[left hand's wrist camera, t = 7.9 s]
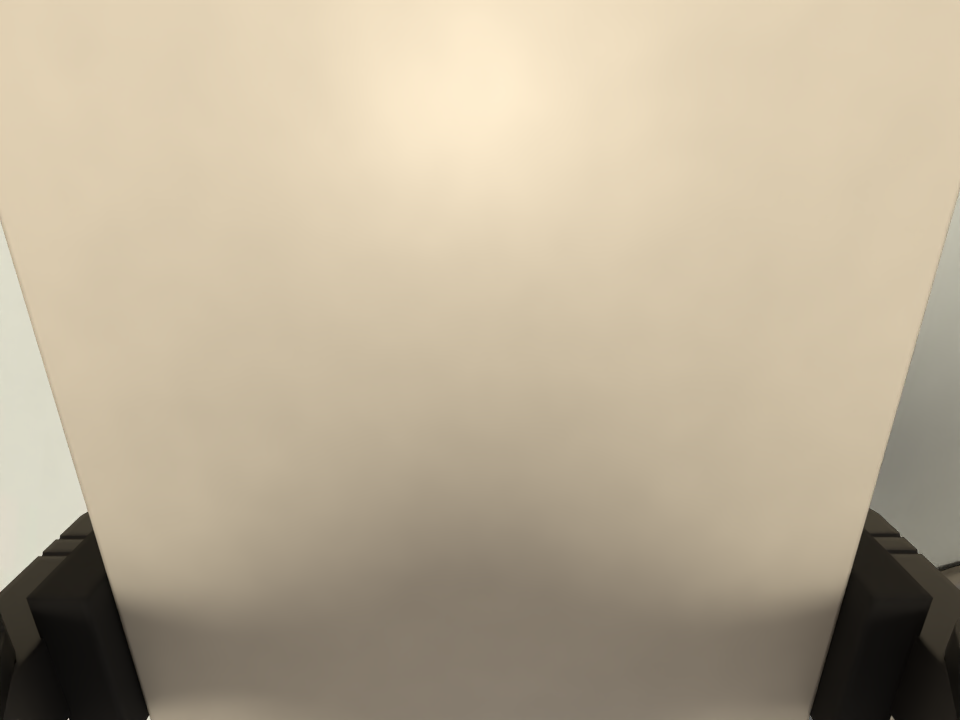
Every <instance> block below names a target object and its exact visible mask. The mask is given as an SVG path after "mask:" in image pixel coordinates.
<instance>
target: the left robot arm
mask: <svg viewBox="0 0 960 720" xmlns="http://www.w3.org/2000/svg"><path fill="white" fill-rule="evenodd" d="M810 715H811V717H812V719H813V720H960V566H956V567H953V568H949V569H946V570H944V571H941V572H940V571H939V570H938V569H937V568H936V567H935V566H934V565H933V564H932V563H931V562H930V561H929V560H927V559H926V558H925V557H924V556H923V555H922V554H918V553H917V549H916V548H915V547H914V546H913V545H912V544H910V543H909V542H908V541H907V540H906V539H905V538H904V537H900V533H899V532H898V531H897V530H896V529H895V528H893V527H892V526H891V525H890V524H889V523H888V522H887V521H886V520H885V519H884V518H883V517H882V516H881V515H880V514H878V513H877V512H875V511H873V510H871V509H870V508H869V510H868V513H867V517H866V520H865V524H864V527H863V531H862V534H861V538H860V541H859V545H858V548H857V552H856V555H855V559H854V562H853V566H852V569H851V573H850V576H849V580H848V583H847V587H846V590H845V594H844V597H843V601H842V604H841V608H840V611H839V615H838V618H837V622H836V625H835V629H834V632H833V636H832V639H831V643H830V646H829V650H828V653H827V657H826V660H825V664H824V667H823V671H822V674H821V678H820V681H819V685H818V688H817V692H816V695H815V699H814V702H813V706H812V709H811V713H810ZM148 716H149V712H148V709H147V706H146V702H145V699H144V696H143V692H142V689H141V686H140V682H139V679H138V676H137V672H136V669H135V666H134V662H133V659H132V656H131V652H130V649H129V646H128V642H127V639H126V636H125V633H124V629H123V626H122V623H121V619H120V616H119V613H118V609H117V606H116V603H115V599H114V596H113V593H112V589H111V586H110V583H109V579H108V576H107V573H106V569H105V566H104V563H103V559H102V556H101V553H100V549H99V546H98V543H97V539H96V536H95V533H94V530H93V526H92V523H91V520H90V516H89V513H88V512H87V513H85V514H83V515H81V516H80V517H79V518H78V519H77V520H76V521H75V522H74V523H73V524H72V525H71V526H70V527H69V528H68V529H66V530H65V531H64V532H63V533H62V534H61V535H60V539H56V540H55V541H54V542H53V543H52V544H51V545H50V546H49V547H48V548H46V549H45V550H44V551H43V555H42V556H38V557H37V558H36V559H35V560H34V561H33V562H32V563H31V564H30V565H29V566H27V567H26V568H25V569H24V570H23V571H22V572H21V573H20V574H19V575H18V576H17V577H16V578H15V579H14V580H13V581H12V582H11V583H10V584H8V585H7V586H6V587H5V588H4V589H3V590H2V591H1V592H0V720H67V719H68V718H69V720H147V718H148Z"/></svg>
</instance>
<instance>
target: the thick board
mask: <svg viewBox="0 0 960 720" xmlns="http://www.w3.org/2000/svg"><path fill="white" fill-rule="evenodd" d="M959 191H960V0H0V221H1V224H2V227H3V231H4V234H5V237H6V241H7V244H8V247H9V250H10V254H11V257H12V260H13V264H14V267H15V270H16V274H17V277H18V280H19V284H20V287H21V290H22V294H23V297H24V300H25V304H26V307H27V310H28V314H29V317H30V320H31V324H32V327H33V330H34V334H35V337H36V340H37V344H38V347H39V350H40V353H41V357H42V360H43V363H44V367H45V370H46V373H47V377H48V380H49V383H50V387H51V390H52V393H53V397H54V400H55V403H56V407H57V410H58V413H59V417H60V420H61V423H62V427H63V430H64V433H65V437H66V440H67V443H68V446H69V450H70V453H71V456H72V460H73V463H74V466H75V470H76V473H77V476H78V480H79V483H80V486H81V490H82V493H83V496H84V500H85V503H86V506H87V510H88V513H89V516H90V520H91V523H92V526H93V530H94V533H95V536H96V539H97V543H98V546H99V549H100V553H101V556H102V559H103V563H104V566H105V569H106V573H107V576H108V579H109V583H110V586H111V589H112V593H113V596H114V599H115V603H116V606H117V609H118V613H119V616H120V619H121V623H122V626H123V629H124V633H125V636H126V639H127V642H128V646H129V649H130V652H131V656H132V659H133V662H134V666H135V669H136V672H137V676H138V679H139V682H140V686H141V689H142V692H143V696H144V699H145V702H146V706H147V709H148V712H149V716H150V719H151V720H809V716H810V713H811V709H812V706H813V702H814V699H815V695H816V692H817V688H818V685H819V681H820V678H821V674H822V671H823V667H824V664H825V660H826V657H827V653H828V650H829V646H830V643H831V639H832V636H833V632H834V629H835V625H836V622H837V618H838V615H839V611H840V608H841V604H842V601H843V597H844V594H845V590H846V587H847V583H848V580H849V576H850V573H851V569H852V566H853V562H854V559H855V555H856V552H857V548H858V545H859V541H860V538H861V534H862V531H863V527H864V524H865V520H866V517H867V513H868V510H869V506H870V503H871V499H872V496H873V492H874V489H875V485H876V482H877V478H878V475H879V471H880V468H881V464H882V461H883V457H884V453H885V450H886V446H887V443H888V439H889V436H890V432H891V429H892V425H893V422H894V418H895V415H896V411H897V408H898V404H899V401H900V397H901V394H902V390H903V387H904V383H905V380H906V376H907V373H908V369H909V366H910V362H911V359H912V355H913V352H914V348H915V345H916V341H917V338H918V334H919V331H920V327H921V324H922V320H923V317H924V313H925V310H926V306H927V303H928V299H929V296H930V292H931V289H932V285H933V282H934V278H935V275H936V271H937V268H938V264H939V261H940V257H941V254H942V250H943V247H944V243H945V240H946V236H947V233H948V229H949V226H950V222H951V219H952V215H953V212H954V208H955V205H956V201H957V198H958V194H959Z"/></svg>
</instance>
